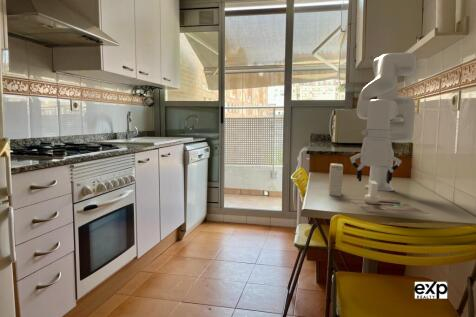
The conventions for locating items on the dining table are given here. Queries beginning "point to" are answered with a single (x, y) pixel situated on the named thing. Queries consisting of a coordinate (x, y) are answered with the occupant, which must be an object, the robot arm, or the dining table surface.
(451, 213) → the dining table surface
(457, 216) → the dining table surface
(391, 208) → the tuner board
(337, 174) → the supplement box
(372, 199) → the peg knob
